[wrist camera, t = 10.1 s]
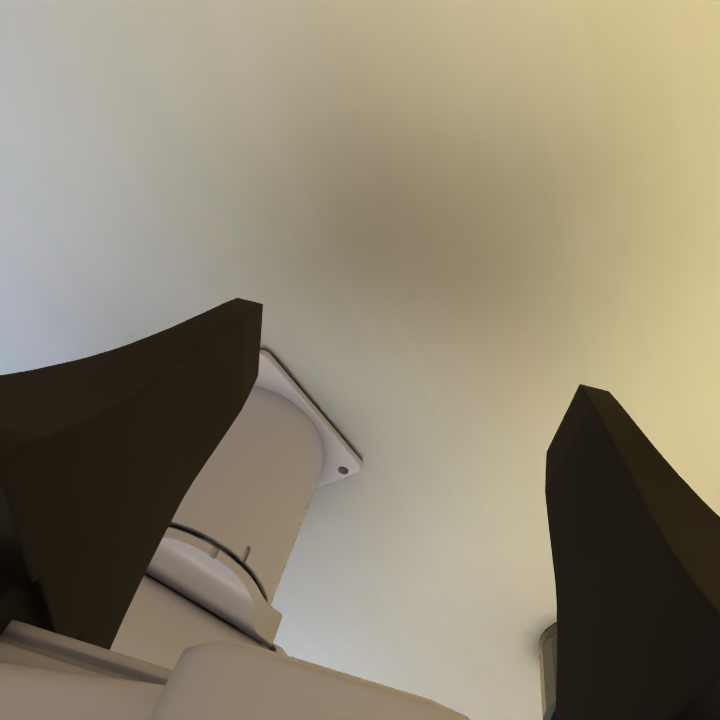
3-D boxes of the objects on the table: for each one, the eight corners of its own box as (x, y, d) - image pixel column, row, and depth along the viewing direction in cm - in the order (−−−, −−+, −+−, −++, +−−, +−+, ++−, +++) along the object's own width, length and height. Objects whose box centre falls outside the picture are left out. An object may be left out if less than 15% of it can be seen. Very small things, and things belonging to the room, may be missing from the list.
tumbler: (570, 690, 35) (578, 765, 32) (518, 627, 33) (520, 702, 29) (685, 674, 32) (707, 757, 28) (636, 604, 29) (653, 684, 26)
